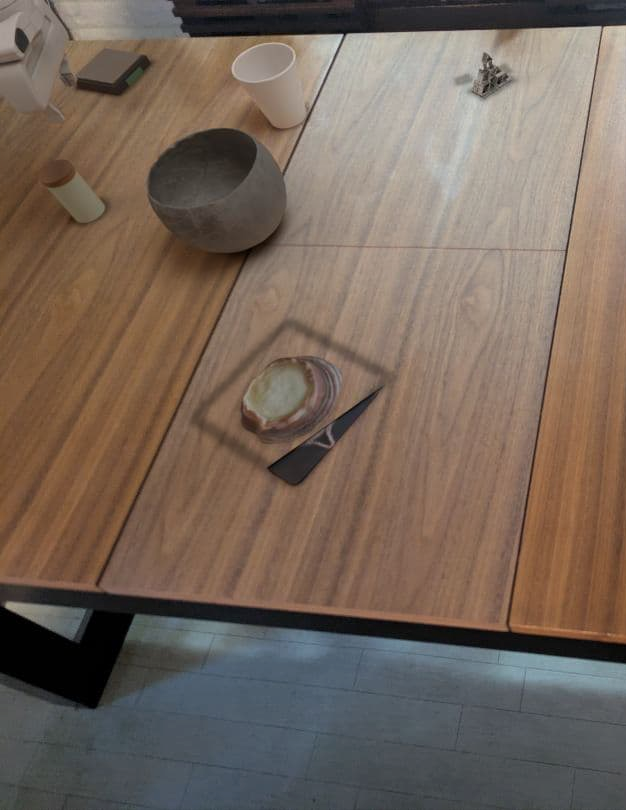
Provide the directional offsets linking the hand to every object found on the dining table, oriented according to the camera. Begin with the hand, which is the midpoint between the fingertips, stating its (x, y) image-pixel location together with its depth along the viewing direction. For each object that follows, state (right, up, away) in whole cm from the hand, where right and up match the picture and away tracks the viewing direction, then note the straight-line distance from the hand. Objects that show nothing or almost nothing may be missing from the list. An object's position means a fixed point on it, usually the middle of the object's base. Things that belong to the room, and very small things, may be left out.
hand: (66, 101), depth 114 cm
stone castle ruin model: (+66, +14, +25) cm, 72 cm away
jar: (-6, -14, +16) cm, 22 cm away
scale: (-14, +21, +37) cm, 45 cm away
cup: (+27, +7, +25) cm, 38 cm away
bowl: (+25, -19, +10) cm, 32 cm away
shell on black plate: (+40, -48, -10) cm, 63 cm away
